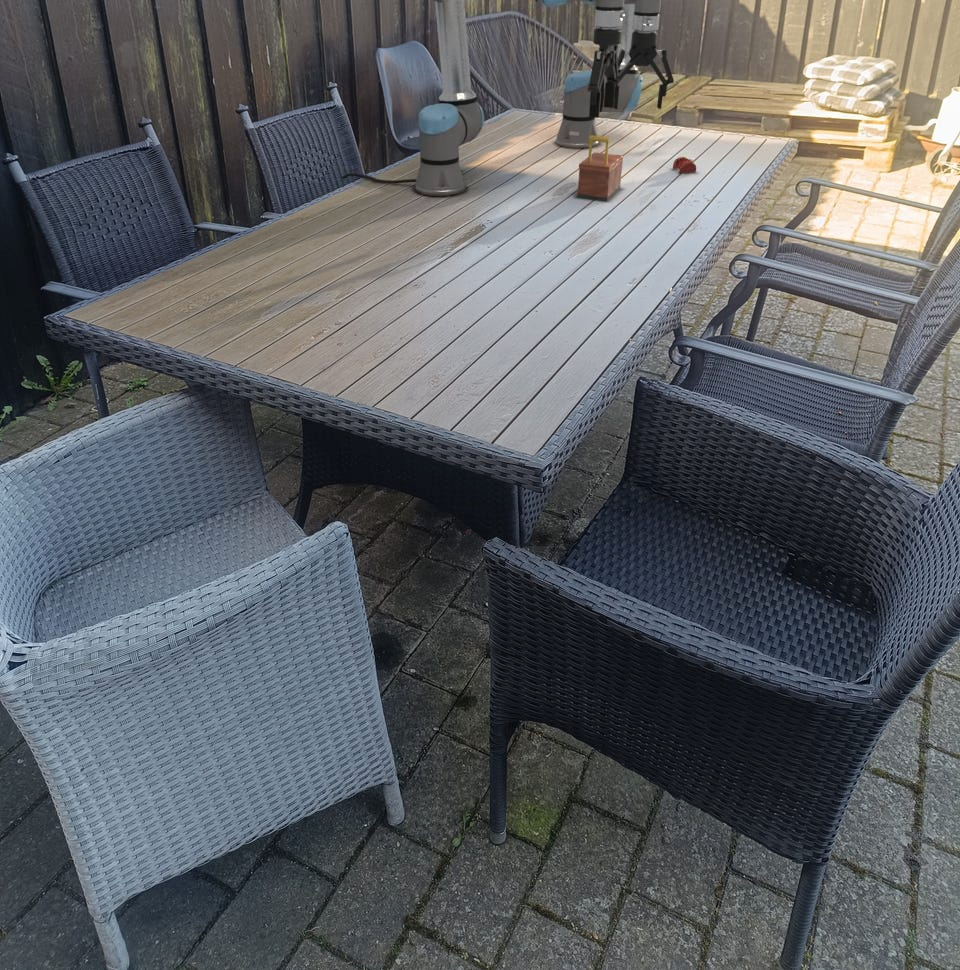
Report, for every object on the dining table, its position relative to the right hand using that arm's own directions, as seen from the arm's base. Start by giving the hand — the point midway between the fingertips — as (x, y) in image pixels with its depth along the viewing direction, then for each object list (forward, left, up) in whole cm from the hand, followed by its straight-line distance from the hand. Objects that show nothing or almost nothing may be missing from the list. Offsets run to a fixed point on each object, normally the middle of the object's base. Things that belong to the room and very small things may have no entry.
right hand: (637, 108), depth 261 cm
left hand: (+25, -15, +4) cm, 29 cm away
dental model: (-2, +18, -20) cm, 27 cm away
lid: (+21, -13, -11) cm, 27 cm away
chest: (+21, -13, -20) cm, 32 cm away
